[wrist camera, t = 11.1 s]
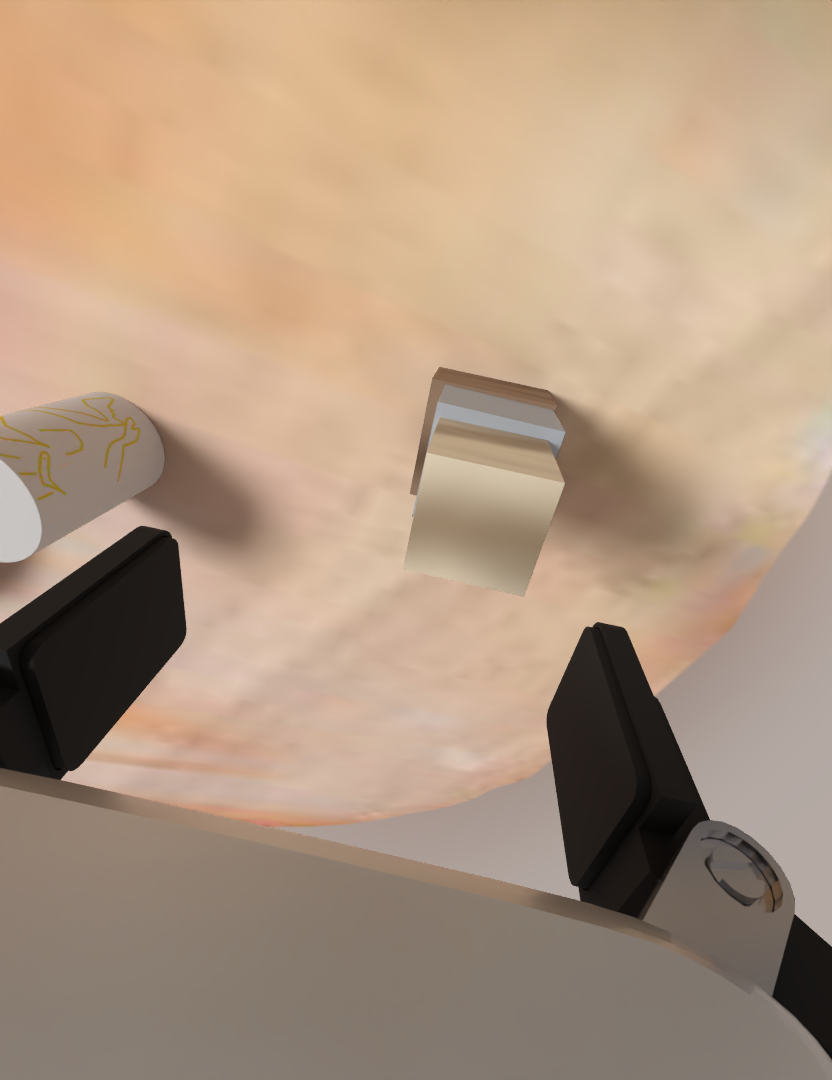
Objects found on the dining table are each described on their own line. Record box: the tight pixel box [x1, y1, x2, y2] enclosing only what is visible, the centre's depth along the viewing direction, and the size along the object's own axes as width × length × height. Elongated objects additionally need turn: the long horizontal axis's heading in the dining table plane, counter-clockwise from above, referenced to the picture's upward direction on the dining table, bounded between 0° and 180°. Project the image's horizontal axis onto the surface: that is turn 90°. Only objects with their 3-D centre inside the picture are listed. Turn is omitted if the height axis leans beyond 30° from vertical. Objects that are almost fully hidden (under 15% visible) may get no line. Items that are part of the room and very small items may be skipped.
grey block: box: [412, 384, 566, 517], centre depth 27 cm, size 6×6×5 cm
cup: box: [0, 392, 165, 562], centre depth 33 cm, size 8×8×12 cm
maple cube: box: [403, 417, 565, 597], centre depth 22 cm, size 6×6×6 cm
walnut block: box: [410, 367, 557, 495], centre depth 31 cm, size 8×8×5 cm
